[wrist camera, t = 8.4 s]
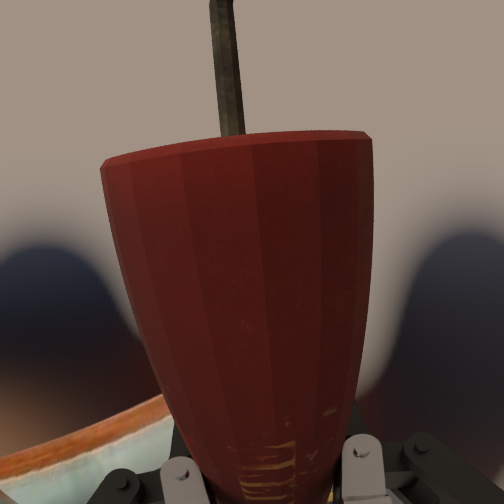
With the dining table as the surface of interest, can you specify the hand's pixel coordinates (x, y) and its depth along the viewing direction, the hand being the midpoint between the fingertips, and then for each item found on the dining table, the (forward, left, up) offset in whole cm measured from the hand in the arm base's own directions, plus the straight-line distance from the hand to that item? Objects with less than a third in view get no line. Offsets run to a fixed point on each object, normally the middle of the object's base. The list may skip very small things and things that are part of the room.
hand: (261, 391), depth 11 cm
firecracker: (0, -3, -15) cm, 15 cm away
